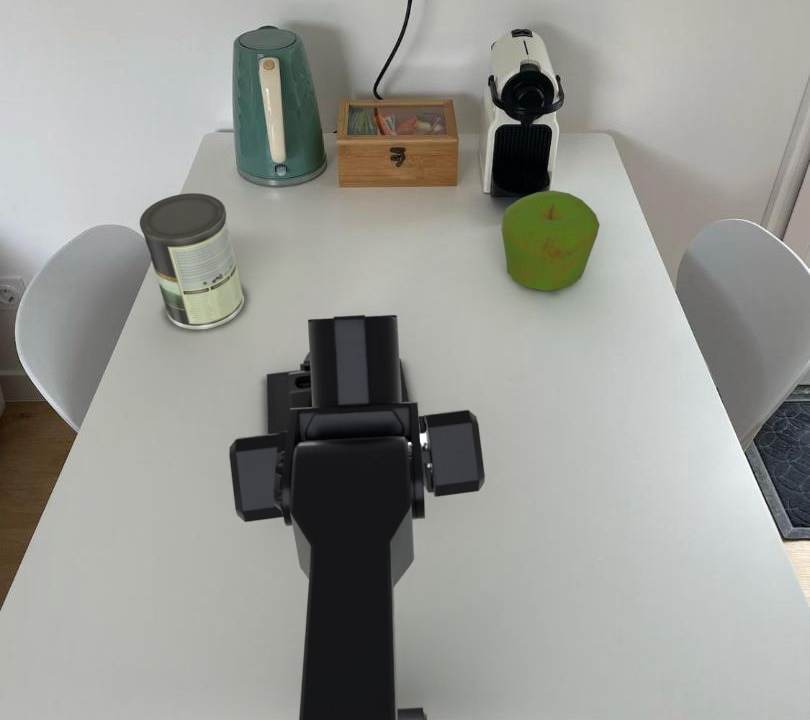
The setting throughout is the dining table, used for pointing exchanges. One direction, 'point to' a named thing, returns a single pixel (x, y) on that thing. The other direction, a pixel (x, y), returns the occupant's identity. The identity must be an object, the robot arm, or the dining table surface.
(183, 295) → the coffee can
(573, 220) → the apple
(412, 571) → the dining table surface
